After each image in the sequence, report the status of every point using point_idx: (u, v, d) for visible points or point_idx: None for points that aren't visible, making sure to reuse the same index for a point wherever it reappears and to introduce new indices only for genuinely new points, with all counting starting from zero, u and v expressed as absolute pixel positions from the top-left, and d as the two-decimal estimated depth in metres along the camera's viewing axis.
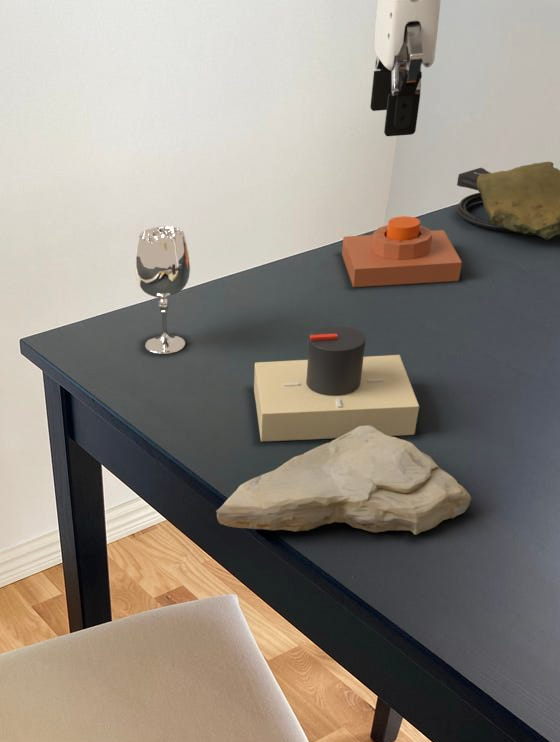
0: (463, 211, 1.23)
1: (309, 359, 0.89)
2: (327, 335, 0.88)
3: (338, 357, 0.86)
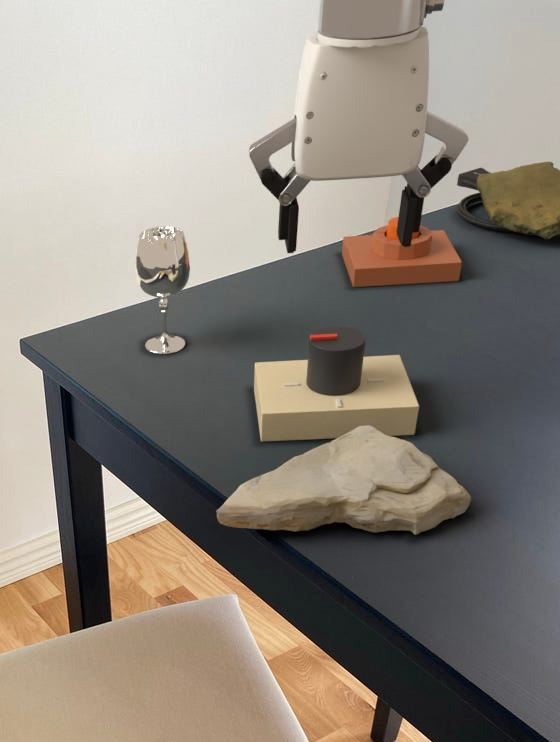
0: (463, 211, 1.23)
1: (309, 359, 0.89)
2: (327, 335, 0.88)
3: (338, 357, 0.86)
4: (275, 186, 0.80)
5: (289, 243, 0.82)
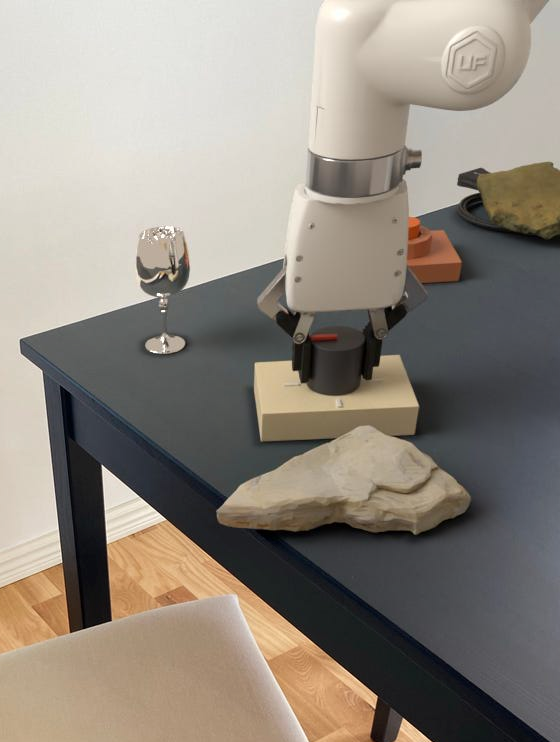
0: (463, 211, 1.23)
1: None
2: (327, 335, 0.88)
3: (338, 357, 0.86)
4: (289, 326, 0.86)
5: (302, 375, 0.89)
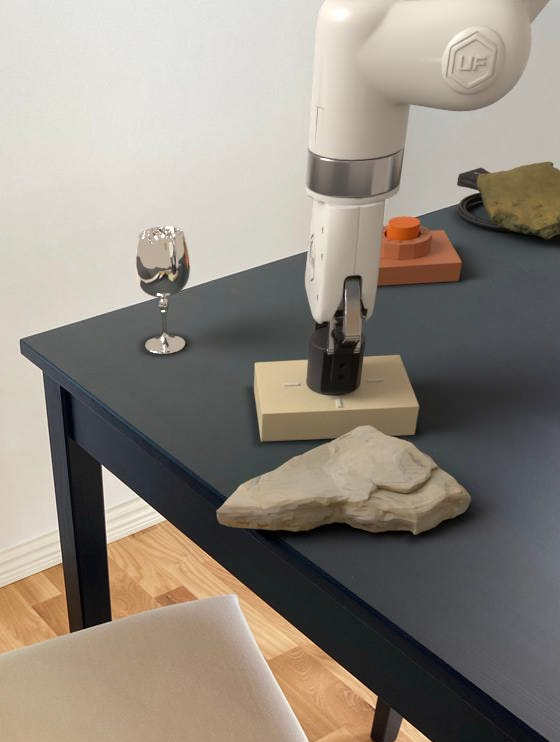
0: (463, 211, 1.23)
1: None
2: None
3: None
4: None
5: (356, 381, 0.87)
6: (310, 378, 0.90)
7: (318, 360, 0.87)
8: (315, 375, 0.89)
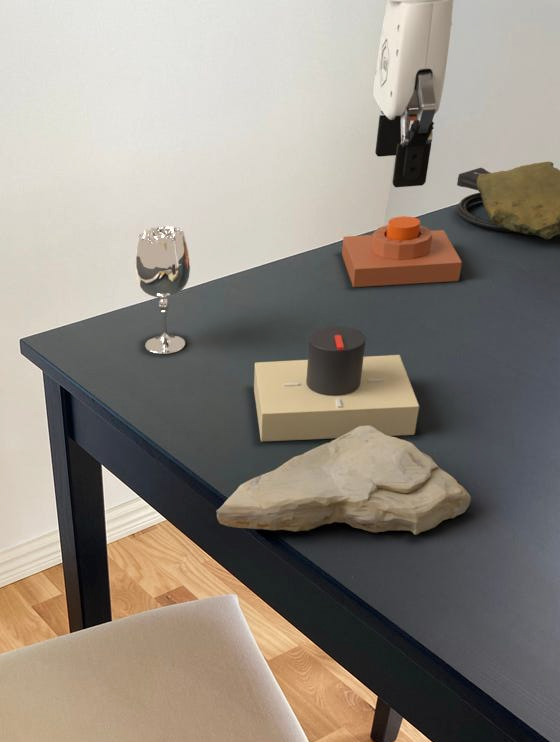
0: (463, 211, 1.23)
1: (345, 367, 0.87)
2: (339, 339, 0.87)
3: None
4: None
5: (426, 174, 0.97)
6: (309, 378, 0.90)
7: (318, 360, 0.87)
8: (314, 375, 0.89)
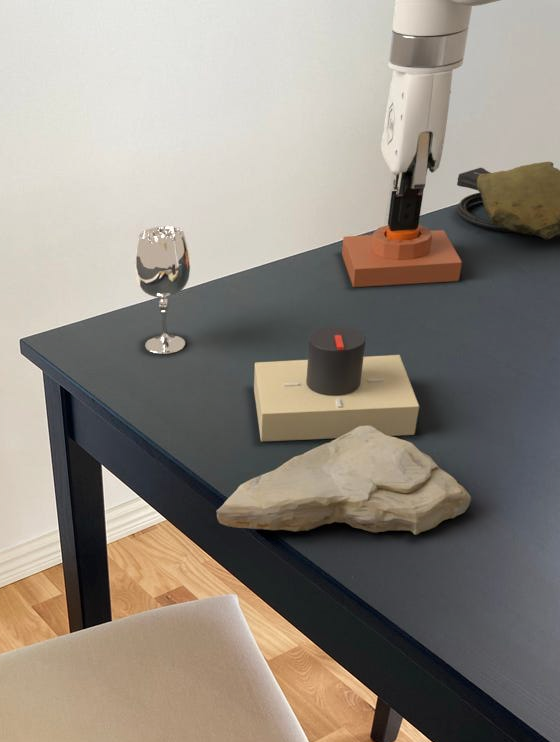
0: (463, 211, 1.23)
1: (345, 367, 0.87)
2: (339, 339, 0.87)
3: None
4: None
5: None
6: (309, 378, 0.90)
7: (318, 360, 0.87)
8: (314, 375, 0.89)
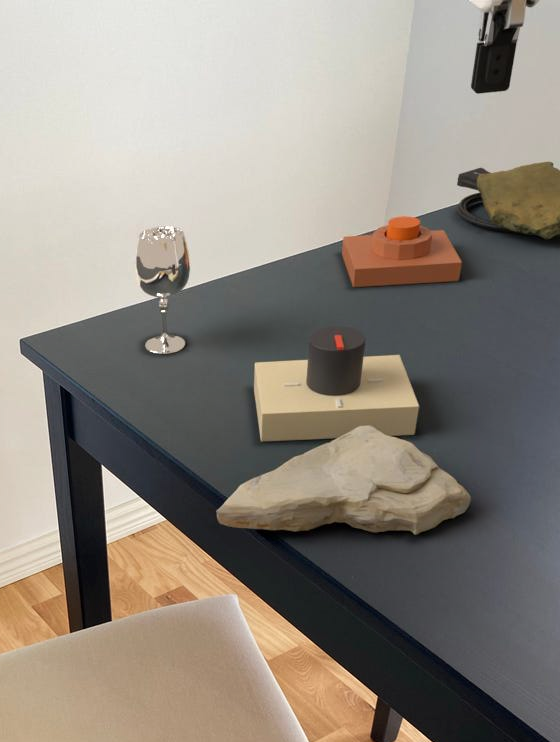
0: (463, 211, 1.23)
1: (345, 367, 0.87)
2: (339, 339, 0.87)
3: None
4: None
5: (510, 79, 0.91)
6: (309, 378, 0.90)
7: (318, 360, 0.87)
8: (314, 375, 0.89)
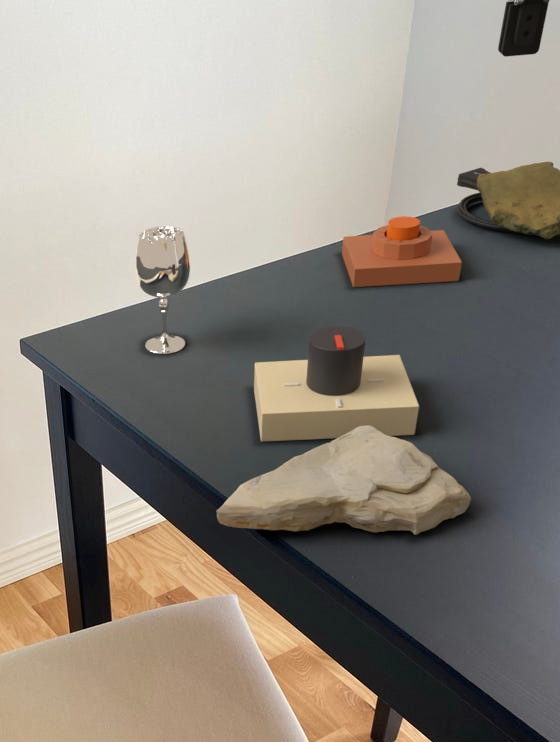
0: (463, 211, 1.23)
1: (345, 367, 0.87)
2: (339, 339, 0.87)
3: None
4: None
5: (540, 41, 0.86)
6: (309, 378, 0.90)
7: (318, 360, 0.87)
8: (314, 375, 0.89)
